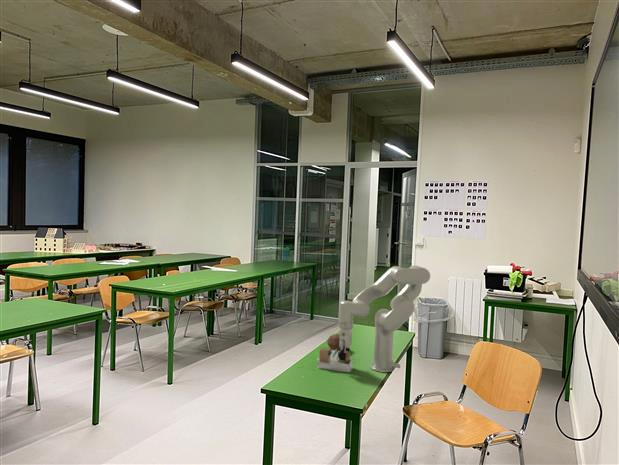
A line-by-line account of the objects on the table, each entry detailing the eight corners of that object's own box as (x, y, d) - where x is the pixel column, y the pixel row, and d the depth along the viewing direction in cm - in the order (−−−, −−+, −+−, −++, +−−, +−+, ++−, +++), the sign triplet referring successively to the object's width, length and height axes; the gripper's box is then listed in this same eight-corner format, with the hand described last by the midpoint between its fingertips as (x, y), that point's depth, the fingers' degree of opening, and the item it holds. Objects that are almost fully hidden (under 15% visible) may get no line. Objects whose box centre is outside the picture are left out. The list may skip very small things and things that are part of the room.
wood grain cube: (349, 362, 231) (349, 351, 231) (347, 365, 226) (348, 353, 226) (339, 361, 232) (339, 350, 232) (337, 363, 228) (337, 352, 228)
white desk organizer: (352, 367, 232) (353, 350, 232) (349, 372, 224) (350, 355, 224) (321, 363, 237) (322, 346, 237) (317, 367, 229) (318, 350, 229)
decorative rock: (342, 354, 254) (342, 337, 254) (323, 351, 258) (324, 334, 258) (348, 348, 267) (349, 332, 266) (331, 345, 271) (331, 329, 270)
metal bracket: (324, 345, 252) (349, 349, 247) (324, 354, 254) (349, 358, 248) (315, 358, 239) (341, 363, 234) (315, 368, 241) (341, 372, 236)
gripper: (349, 329, 219) (348, 363, 220) (356, 322, 236) (354, 353, 236) (335, 327, 221) (333, 361, 222) (342, 320, 238) (340, 351, 239)
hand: (344, 357), depth 229 cm, fingers open, 9 cm apart
